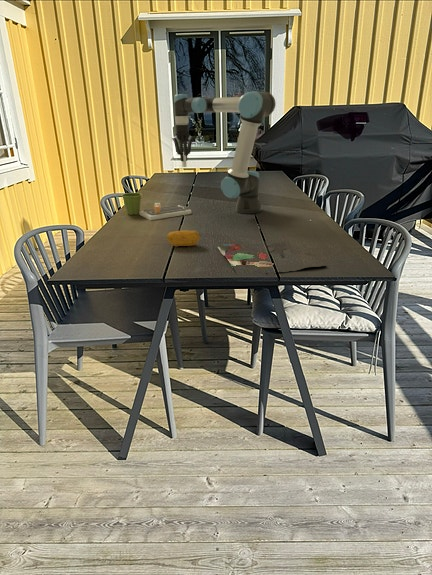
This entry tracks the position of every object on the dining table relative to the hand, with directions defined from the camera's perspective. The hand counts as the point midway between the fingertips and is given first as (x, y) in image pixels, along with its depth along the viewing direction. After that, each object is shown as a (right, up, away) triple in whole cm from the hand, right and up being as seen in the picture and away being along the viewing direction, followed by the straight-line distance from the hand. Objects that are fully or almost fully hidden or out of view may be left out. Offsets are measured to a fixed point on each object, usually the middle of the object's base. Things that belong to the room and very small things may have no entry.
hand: (184, 166), depth 237 cm
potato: (+4, -54, -59) cm, 80 cm away
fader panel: (-11, -29, -5) cm, 31 cm away
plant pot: (-30, -29, -2) cm, 41 cm away
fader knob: (-14, -30, -11) cm, 35 cm away
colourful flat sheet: (+40, -61, -75) cm, 104 cm away
